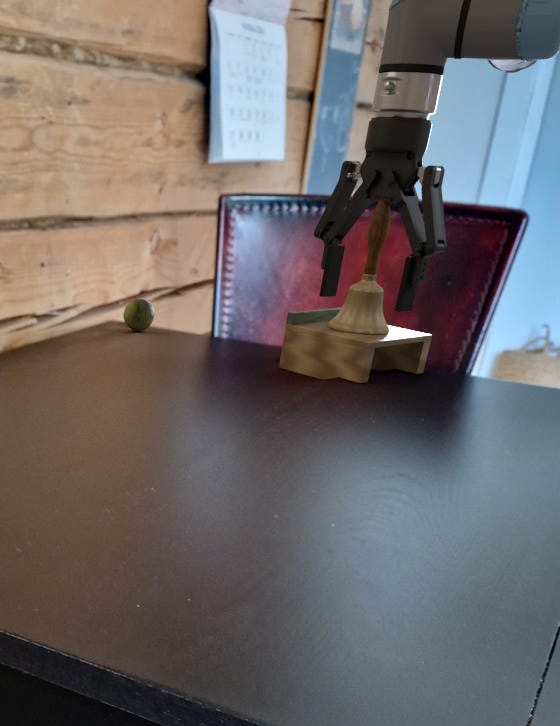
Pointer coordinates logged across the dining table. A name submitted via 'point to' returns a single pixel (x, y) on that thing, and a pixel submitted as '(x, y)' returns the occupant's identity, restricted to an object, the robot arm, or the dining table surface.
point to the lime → (138, 315)
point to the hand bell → (367, 285)
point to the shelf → (347, 348)
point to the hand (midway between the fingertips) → (363, 303)
